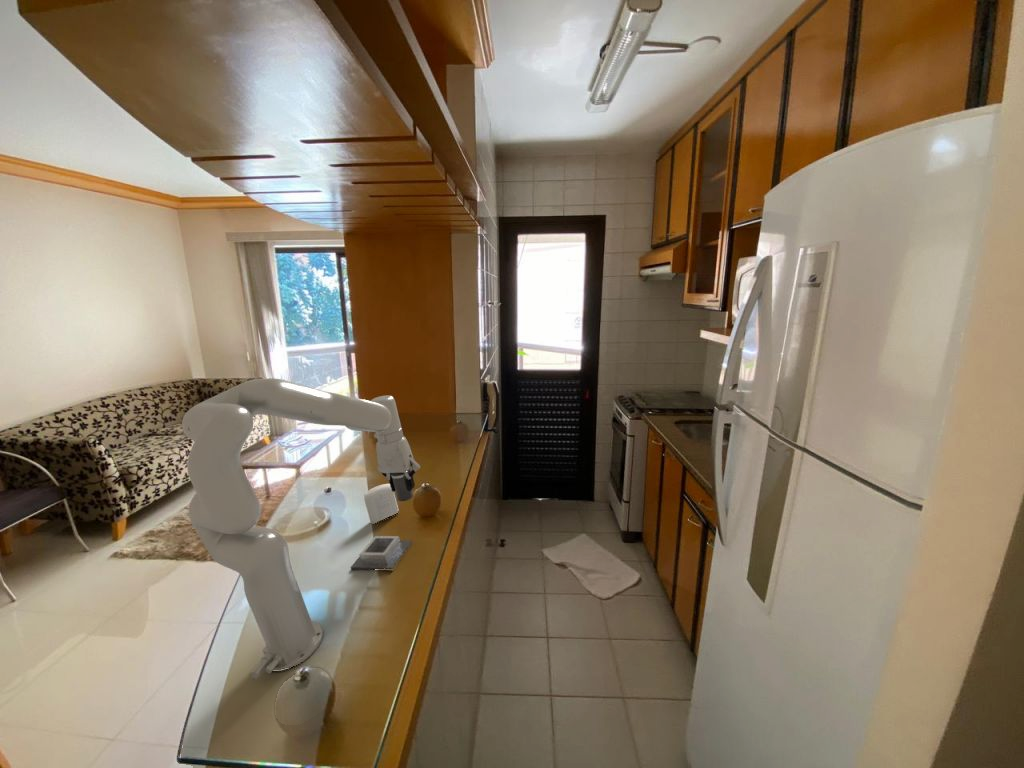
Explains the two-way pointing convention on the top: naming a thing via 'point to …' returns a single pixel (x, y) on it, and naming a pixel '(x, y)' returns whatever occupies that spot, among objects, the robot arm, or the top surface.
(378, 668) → the top surface
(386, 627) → the top surface
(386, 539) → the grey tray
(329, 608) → the top surface
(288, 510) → the top surface
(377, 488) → the photo printer
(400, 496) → the lens
